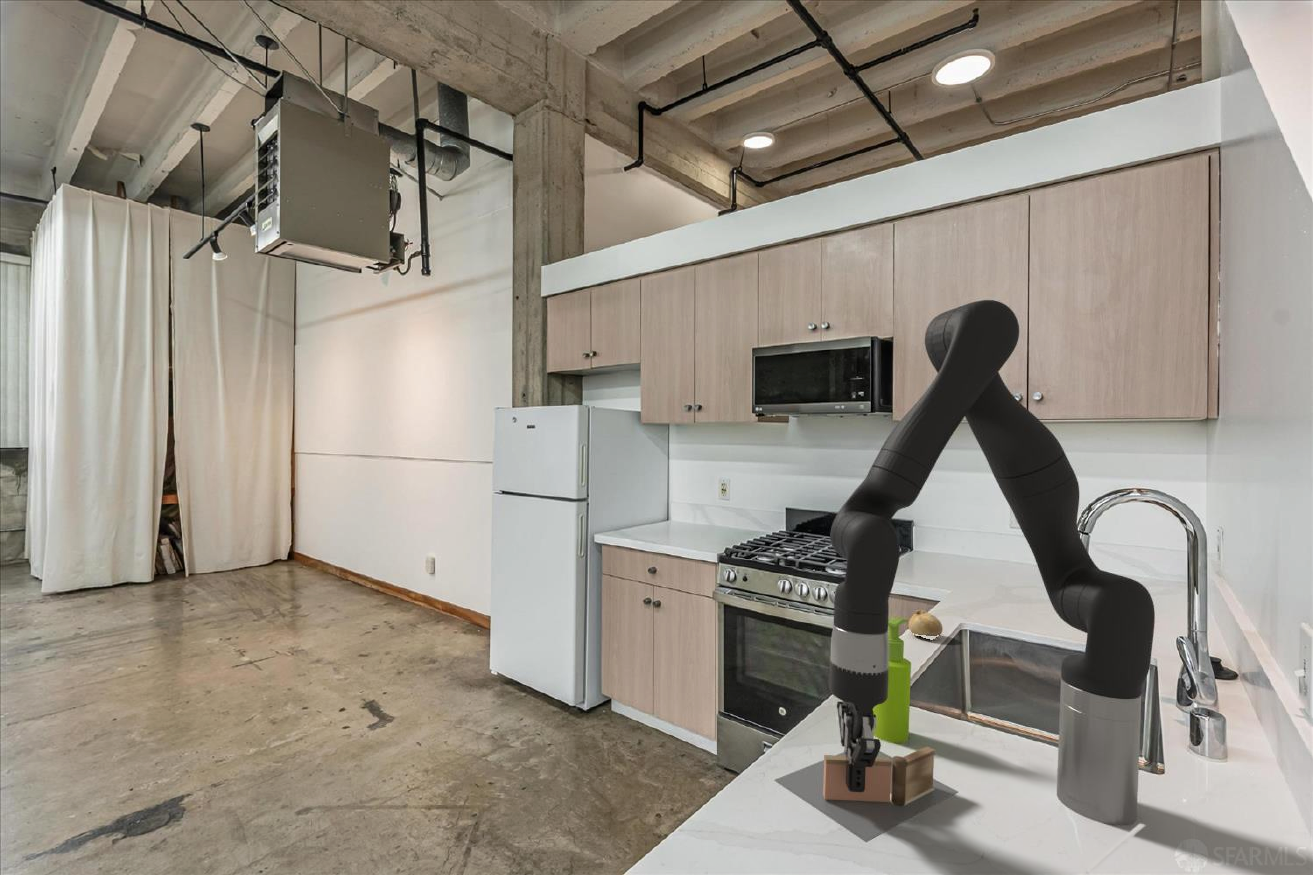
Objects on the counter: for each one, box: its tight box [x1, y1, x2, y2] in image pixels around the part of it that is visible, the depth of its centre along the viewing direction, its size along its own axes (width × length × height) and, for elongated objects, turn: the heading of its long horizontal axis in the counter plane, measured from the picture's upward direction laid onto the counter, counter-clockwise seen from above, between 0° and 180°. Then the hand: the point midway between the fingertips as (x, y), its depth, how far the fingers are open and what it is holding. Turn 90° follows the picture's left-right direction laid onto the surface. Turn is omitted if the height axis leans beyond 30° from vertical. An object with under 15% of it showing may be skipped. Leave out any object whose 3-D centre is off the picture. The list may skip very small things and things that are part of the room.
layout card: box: [773, 750, 959, 843], centre depth 90 cm, size 21×16×1 cm
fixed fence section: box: [891, 746, 936, 806], centre depth 88 cm, size 8×2×6 cm, turn 124°
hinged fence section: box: [823, 754, 892, 802], centre depth 86 cm, size 9×1×6 cm, turn 89°
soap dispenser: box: [873, 616, 912, 744], centre depth 106 cm, size 6×7×20 cm
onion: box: [908, 609, 943, 636], centre depth 160 cm, size 8×8×7 cm
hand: (854, 788), depth 83 cm, fingers closed
